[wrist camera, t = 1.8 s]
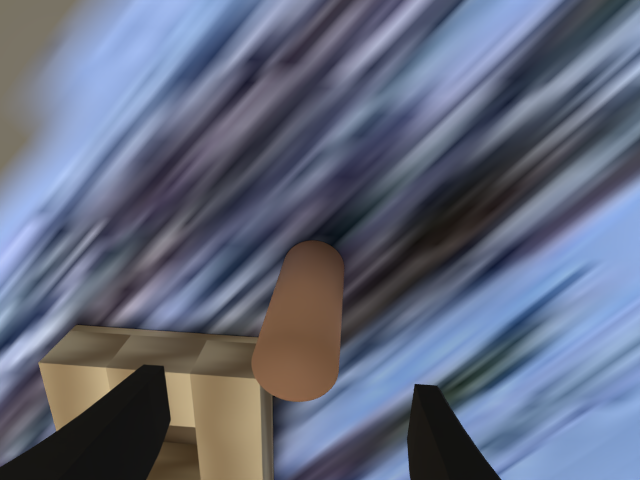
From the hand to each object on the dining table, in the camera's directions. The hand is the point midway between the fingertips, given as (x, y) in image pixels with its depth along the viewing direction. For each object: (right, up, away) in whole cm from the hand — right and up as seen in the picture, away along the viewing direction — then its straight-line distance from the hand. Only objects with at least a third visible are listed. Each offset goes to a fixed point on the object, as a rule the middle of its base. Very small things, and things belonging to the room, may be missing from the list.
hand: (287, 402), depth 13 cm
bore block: (-7, -5, +12) cm, 14 cm away
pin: (+1, +3, +8) cm, 9 cm away
